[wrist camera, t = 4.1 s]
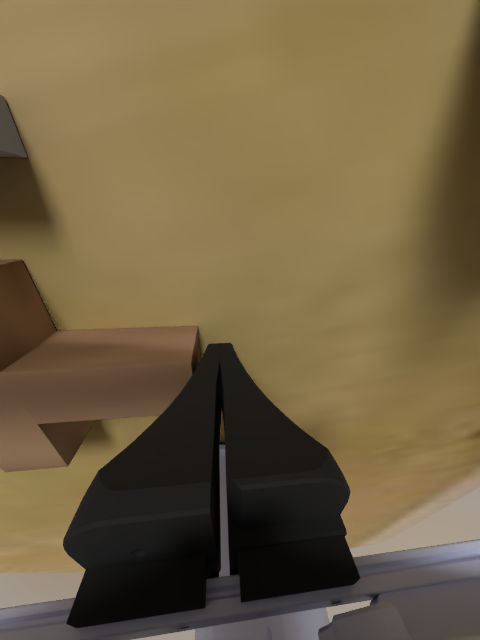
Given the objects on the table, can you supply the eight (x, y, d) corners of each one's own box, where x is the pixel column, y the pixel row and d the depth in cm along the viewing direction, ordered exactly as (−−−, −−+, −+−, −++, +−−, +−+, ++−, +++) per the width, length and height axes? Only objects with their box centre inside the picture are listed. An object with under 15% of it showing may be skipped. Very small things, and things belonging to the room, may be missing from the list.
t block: (205, 408, 14) (203, 454, 11) (48, 419, 13) (5, 472, 10) (190, 258, 9) (179, 277, 6) (-59, 260, 8) (-189, 282, 6)
